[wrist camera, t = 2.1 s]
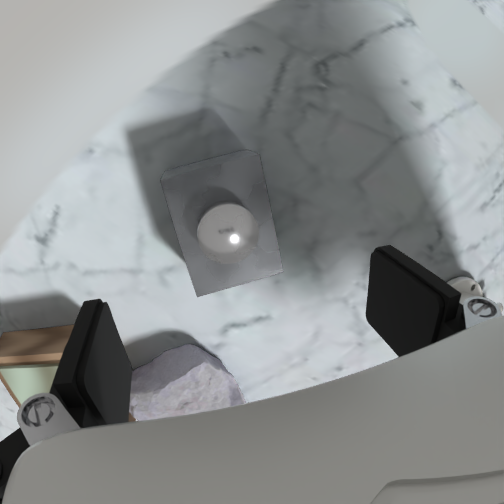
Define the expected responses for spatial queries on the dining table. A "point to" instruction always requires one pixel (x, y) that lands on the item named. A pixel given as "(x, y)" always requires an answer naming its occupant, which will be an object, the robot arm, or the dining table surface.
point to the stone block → (182, 385)
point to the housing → (223, 221)
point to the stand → (32, 360)
